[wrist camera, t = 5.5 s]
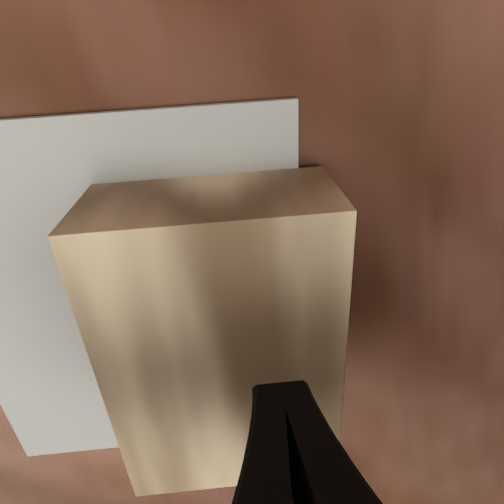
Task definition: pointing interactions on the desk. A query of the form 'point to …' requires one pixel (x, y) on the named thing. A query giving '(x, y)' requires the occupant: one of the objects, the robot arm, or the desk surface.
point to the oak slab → (207, 309)
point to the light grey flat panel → (56, 207)
